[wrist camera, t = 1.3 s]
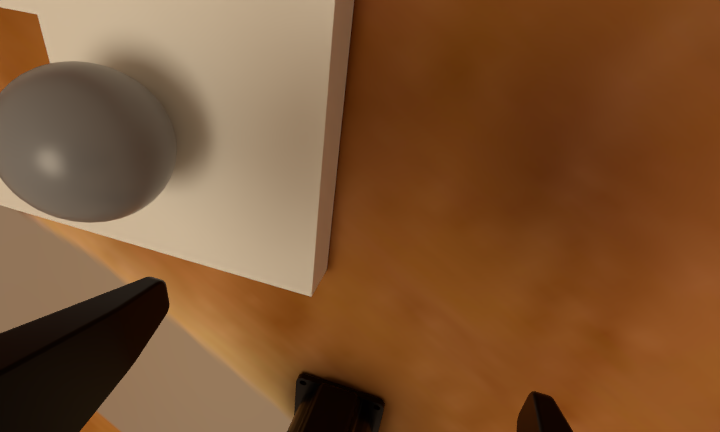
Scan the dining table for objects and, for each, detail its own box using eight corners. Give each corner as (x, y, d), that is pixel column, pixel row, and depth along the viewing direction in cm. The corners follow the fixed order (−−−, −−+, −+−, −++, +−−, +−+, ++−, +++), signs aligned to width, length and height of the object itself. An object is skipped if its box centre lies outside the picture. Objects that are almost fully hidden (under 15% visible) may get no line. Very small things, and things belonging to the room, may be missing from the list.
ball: (211, 196, 21) (112, 271, 16) (103, 168, 22) (-25, 229, 17) (201, 64, 18) (70, 101, 12) (73, 38, 19) (-98, 62, 13)
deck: (326, 269, 25) (311, 296, 22) (2, 178, 29) (-37, 194, 27) (358, -46, 16) (338, -50, 14) (-106, -111, 20) (-175, -121, 18)
